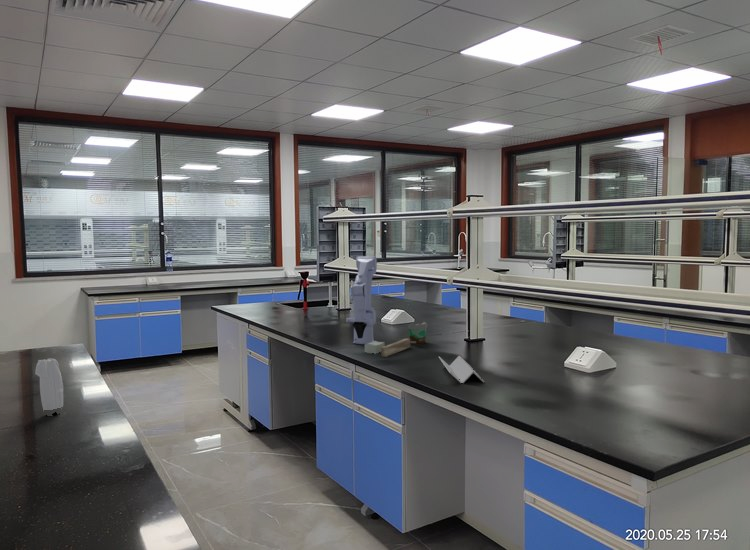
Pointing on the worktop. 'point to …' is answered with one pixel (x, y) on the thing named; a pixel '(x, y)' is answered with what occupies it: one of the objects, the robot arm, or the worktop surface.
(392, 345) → the birch board
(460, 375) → the z bracket
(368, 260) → the robot arm
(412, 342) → the food container
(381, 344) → the sage block
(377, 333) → the worktop surface
